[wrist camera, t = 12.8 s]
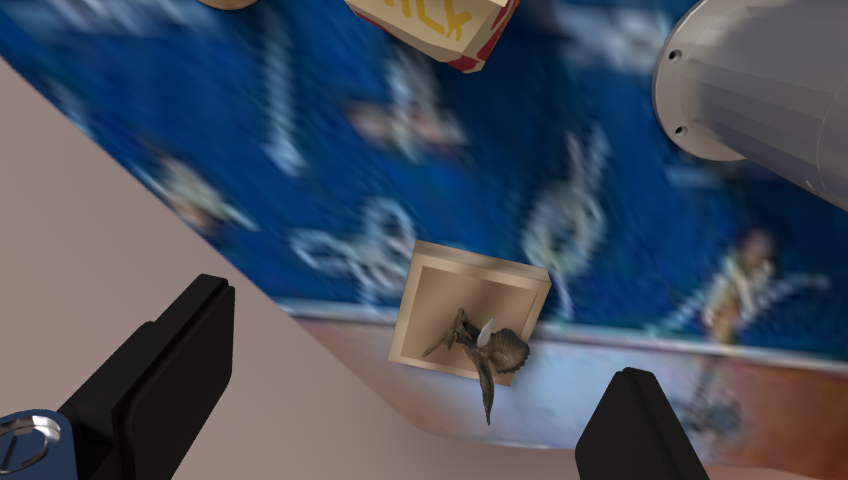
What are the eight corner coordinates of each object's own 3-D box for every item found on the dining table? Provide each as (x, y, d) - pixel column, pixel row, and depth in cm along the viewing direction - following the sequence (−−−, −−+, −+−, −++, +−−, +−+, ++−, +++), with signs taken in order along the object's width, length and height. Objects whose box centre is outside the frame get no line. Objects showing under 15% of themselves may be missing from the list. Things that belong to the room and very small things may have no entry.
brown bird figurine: (410, 347, 42) (474, 417, 43) (430, 363, 35) (506, 445, 36) (468, 289, 44) (529, 357, 45) (498, 293, 37) (570, 373, 38)
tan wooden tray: (546, 269, 42) (552, 285, 40) (507, 368, 47) (509, 387, 45) (416, 239, 42) (413, 254, 39) (391, 343, 47) (387, 361, 45)
